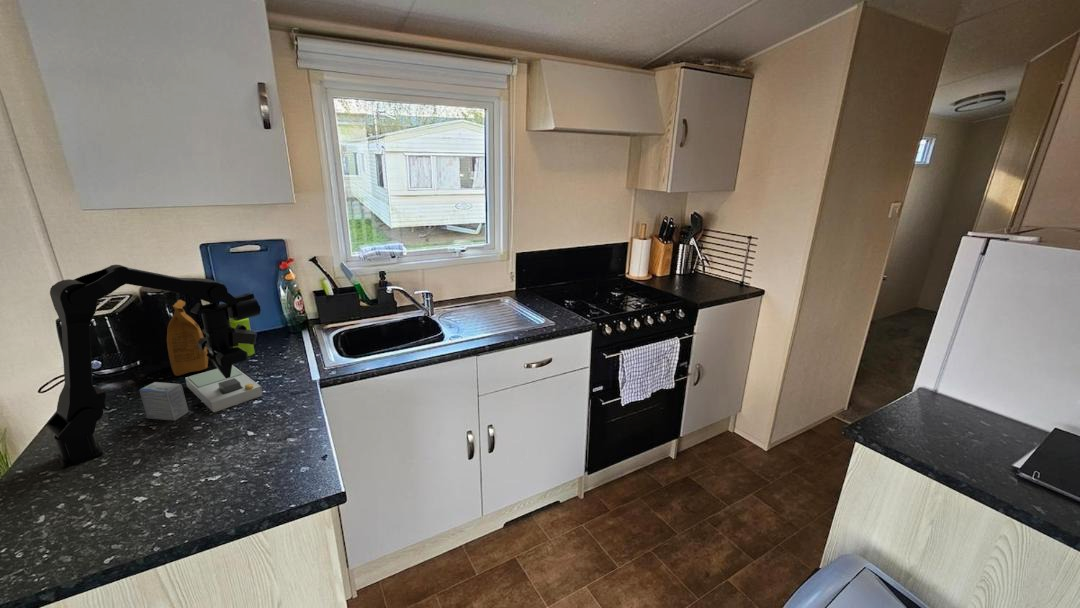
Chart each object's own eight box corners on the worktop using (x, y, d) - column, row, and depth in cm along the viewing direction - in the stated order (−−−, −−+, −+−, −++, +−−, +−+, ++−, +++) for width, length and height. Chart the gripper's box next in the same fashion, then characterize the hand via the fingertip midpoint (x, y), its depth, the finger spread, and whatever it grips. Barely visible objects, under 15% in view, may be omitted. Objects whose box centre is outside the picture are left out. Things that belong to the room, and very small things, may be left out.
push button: (241, 392, 124) (239, 382, 123) (225, 397, 121) (223, 387, 120) (236, 388, 126) (234, 378, 125) (220, 393, 123) (218, 383, 122)
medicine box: (189, 412, 116) (182, 383, 113) (174, 421, 112) (166, 391, 109) (162, 410, 117) (154, 381, 114) (146, 419, 112) (138, 389, 110)
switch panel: (262, 395, 125) (260, 383, 124) (213, 412, 116) (210, 399, 115) (233, 373, 138) (231, 362, 137) (187, 386, 129) (184, 375, 128)
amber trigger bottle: (212, 357, 148) (199, 296, 142) (210, 371, 138) (196, 306, 132) (175, 363, 143) (159, 300, 137) (170, 378, 133) (153, 311, 127)
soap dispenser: (250, 348, 156) (240, 295, 151) (257, 353, 152) (247, 299, 146) (231, 353, 152) (220, 299, 146) (238, 359, 148) (227, 303, 142)
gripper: (264, 325, 118) (273, 377, 123) (237, 311, 129) (246, 359, 133) (216, 336, 109) (227, 392, 114) (191, 320, 120) (203, 371, 125)
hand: (227, 377), depth 122 cm, fingers closed
